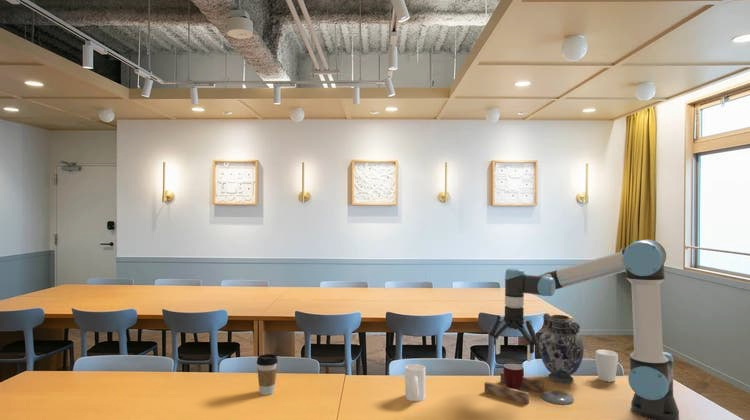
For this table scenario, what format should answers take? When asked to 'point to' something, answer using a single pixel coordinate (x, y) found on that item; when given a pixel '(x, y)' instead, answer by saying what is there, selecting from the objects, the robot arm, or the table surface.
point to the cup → (606, 364)
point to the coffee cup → (267, 373)
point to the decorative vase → (561, 347)
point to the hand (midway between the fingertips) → (513, 357)
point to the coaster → (557, 397)
